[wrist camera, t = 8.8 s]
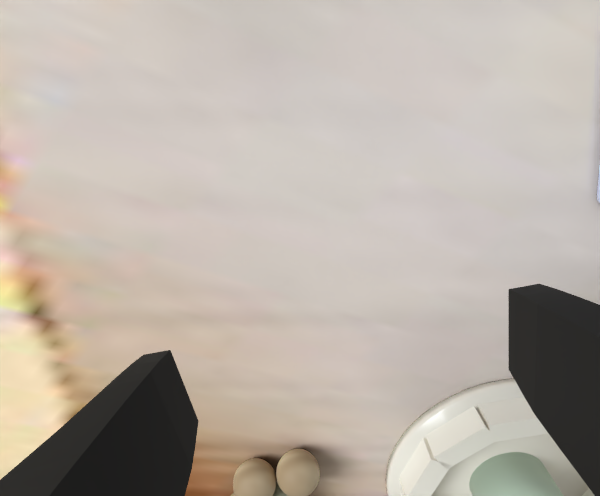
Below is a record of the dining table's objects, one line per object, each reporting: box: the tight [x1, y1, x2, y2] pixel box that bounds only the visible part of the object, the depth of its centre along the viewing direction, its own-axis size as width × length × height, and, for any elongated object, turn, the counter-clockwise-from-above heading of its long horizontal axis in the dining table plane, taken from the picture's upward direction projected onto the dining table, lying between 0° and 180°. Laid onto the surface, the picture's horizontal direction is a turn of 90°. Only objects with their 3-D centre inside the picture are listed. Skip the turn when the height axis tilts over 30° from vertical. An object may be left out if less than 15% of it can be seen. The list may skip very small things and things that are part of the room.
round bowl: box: [386, 378, 595, 496], centre depth 23 cm, size 14×14×2 cm
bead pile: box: [231, 449, 320, 496], centre depth 23 cm, size 6×5×2 cm
